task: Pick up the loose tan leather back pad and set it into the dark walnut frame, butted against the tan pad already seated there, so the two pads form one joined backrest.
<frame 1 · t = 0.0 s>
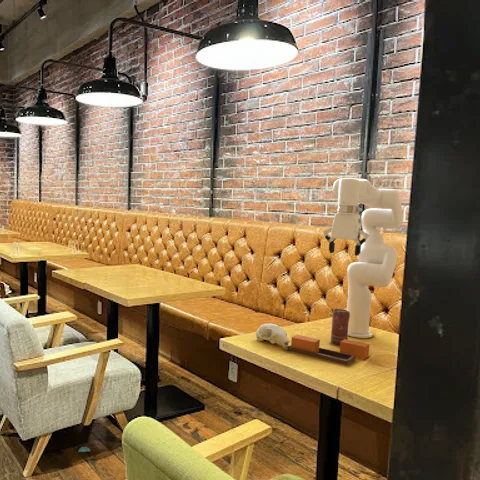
hand: (344, 254, 189), 37 cm above the table, tool pointing down, fingers open, 9 cm apart
back pad left: (304, 351, 182), resting on frame
back pad right: (353, 355, 181), on the table
can: (338, 345, 194), on the table
frame: (320, 356, 179), on the table
animal skull: (272, 345, 191), on the table
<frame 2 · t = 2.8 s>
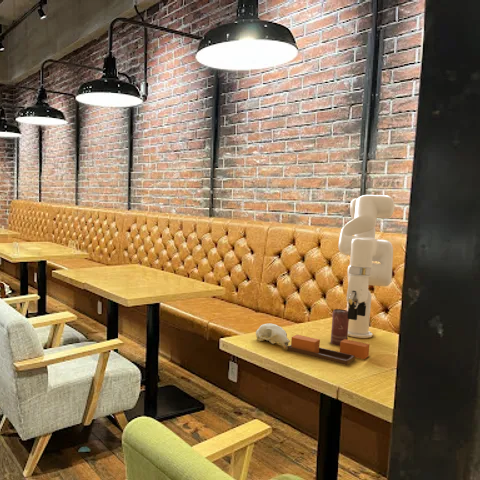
hand: (356, 317, 179), 15 cm above the table, tool pointing down, fingers open, 9 cm apart
nothing on the table moved.
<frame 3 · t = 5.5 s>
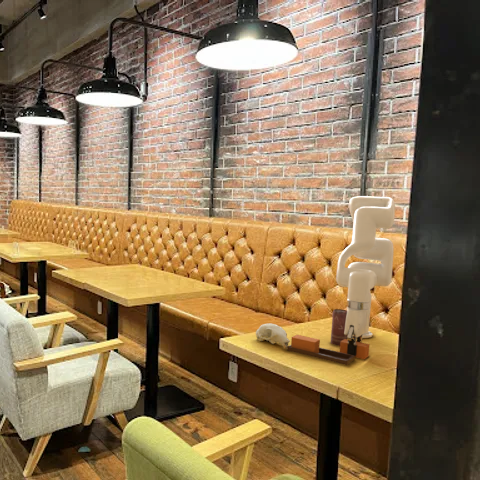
hand: (354, 352, 181), 1 cm above the table, tool pointing down, fingers closed on back pad right, 5 cm apart
back pad right: (353, 355, 181), on the table, touching gripper
everything else where it was.
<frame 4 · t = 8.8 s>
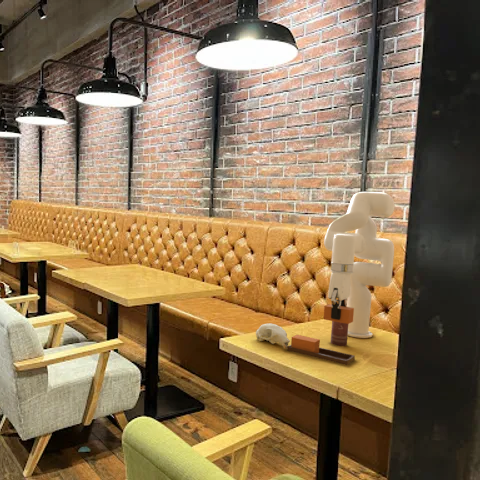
hand: (338, 317, 176), 15 cm above the table, tool pointing down, fingers closed on back pad right, 5 cm apart
back pad right: (338, 320, 176), point 14 cm above the table, touching gripper
everything else where it was.
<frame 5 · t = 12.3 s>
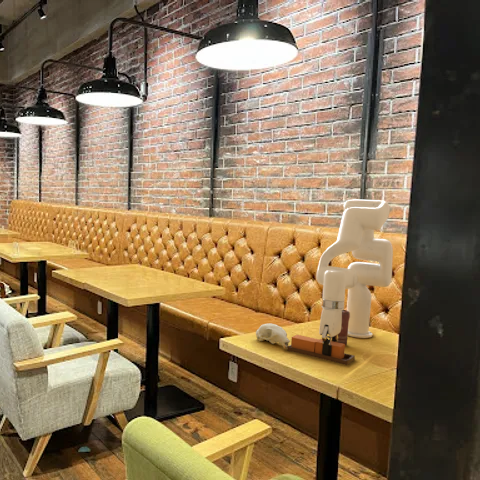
hand: (329, 352, 177), 2 cm above the table, tool pointing down, fingers closed on back pad right, 5 cm apart
back pad right: (329, 356, 177), point 1 cm above the table, touching gripper
everything else where it was.
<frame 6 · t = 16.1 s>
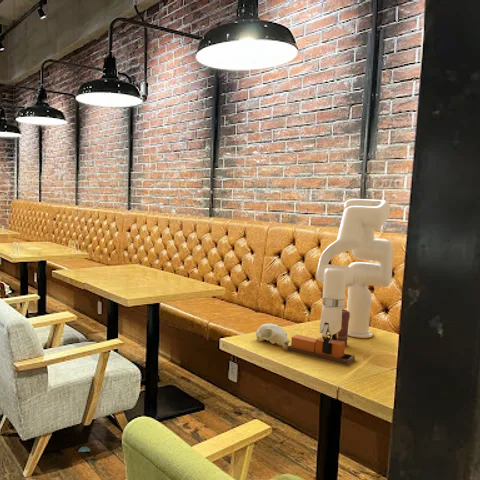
hand: (329, 350, 176), 3 cm above the table, tool pointing down, fingers closed on back pad right, 4 cm apart
back pad right: (329, 354, 177), point 2 cm above the table, touching gripper
everything else where it was.
when the fingers open (3 cm above the table, at t = 19.6 s): back pad right drops 1 cm, resting on frame.
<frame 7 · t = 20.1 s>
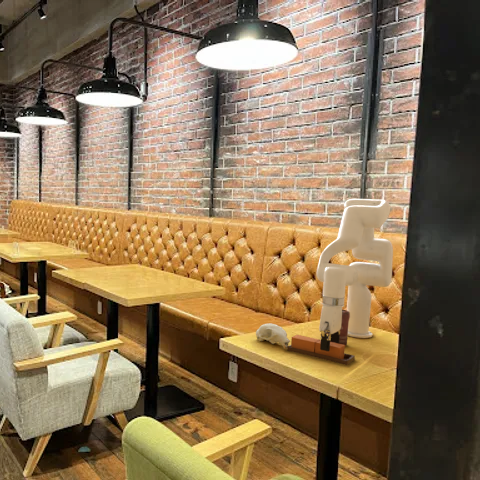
hand: (329, 347, 176), 4 cm above the table, tool pointing down, fingers open, 9 cm apart
back pad right: (329, 357, 177), resting on frame
everything else where it was.
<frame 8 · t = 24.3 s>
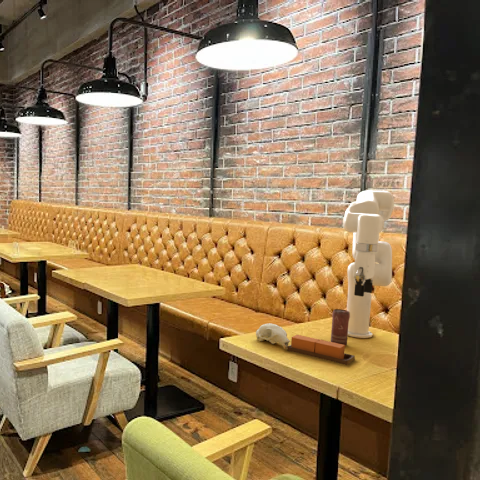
hand: (363, 294, 180), 23 cm above the table, tool pointing down, fingers open, 9 cm apart
nothing on the table moved.
at the end: back pad right 0.1 cm from the target spot in the frame, point 0.5 cm above the frame's base; back pad right 9.2 cm from the back pad left (horizontally); back pad right tilted 0° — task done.
